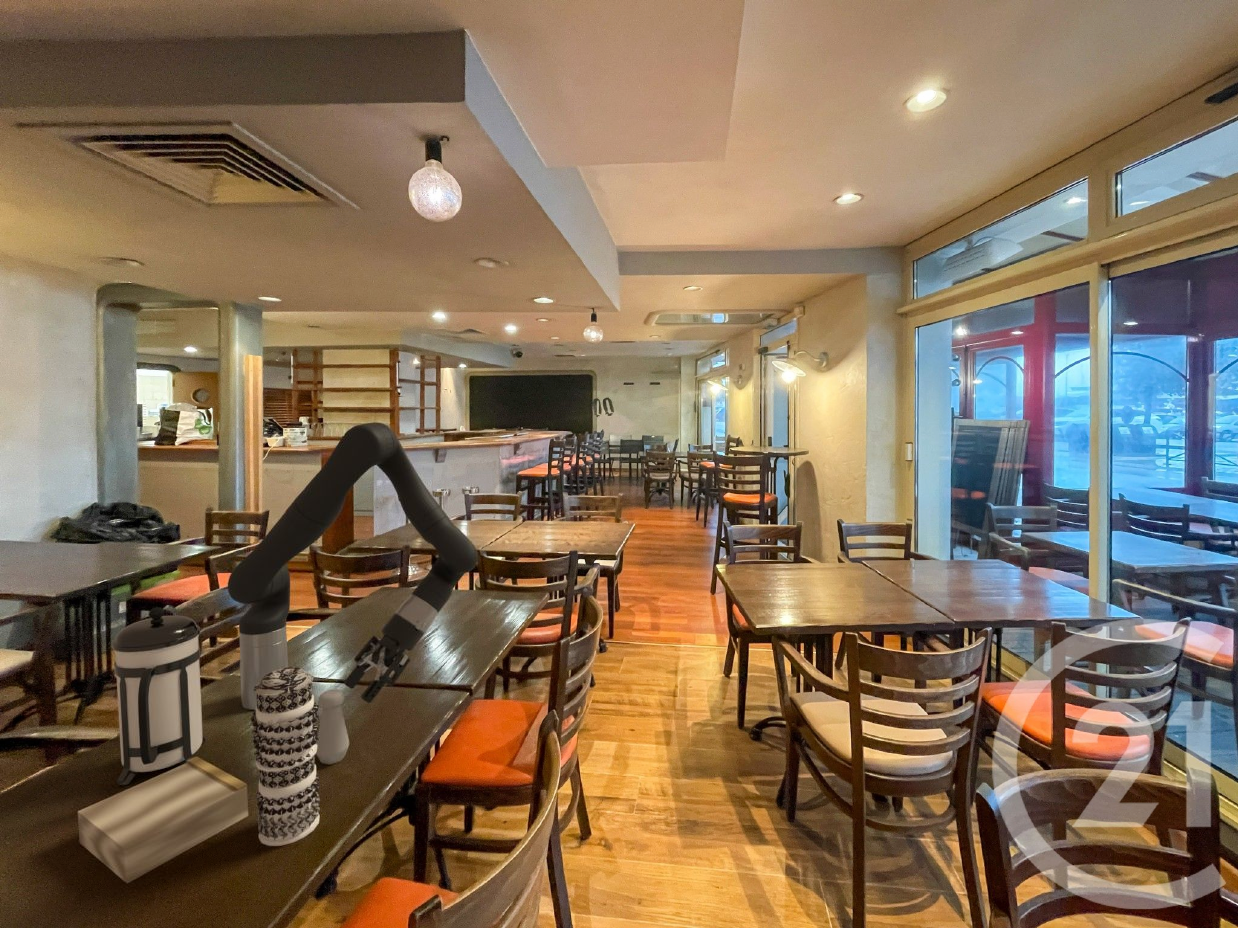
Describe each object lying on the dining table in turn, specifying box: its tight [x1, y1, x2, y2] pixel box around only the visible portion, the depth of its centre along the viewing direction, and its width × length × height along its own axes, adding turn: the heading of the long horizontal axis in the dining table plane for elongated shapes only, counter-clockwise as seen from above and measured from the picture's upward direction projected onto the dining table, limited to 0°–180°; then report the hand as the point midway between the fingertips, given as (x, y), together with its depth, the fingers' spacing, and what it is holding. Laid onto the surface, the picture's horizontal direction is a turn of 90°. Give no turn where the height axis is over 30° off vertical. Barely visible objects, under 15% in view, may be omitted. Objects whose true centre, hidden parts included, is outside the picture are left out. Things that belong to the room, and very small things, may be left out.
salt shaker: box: [315, 689, 350, 765], centre depth 109 cm, size 6×6×13 cm
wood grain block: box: [77, 756, 249, 884], centre depth 90 cm, size 16×16×5 cm
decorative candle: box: [250, 666, 321, 847], centre depth 90 cm, size 9×9×25 cm
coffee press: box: [111, 606, 206, 787], centre depth 106 cm, size 17×16×30 cm
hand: (356, 693), depth 112 cm, fingers open, 8 cm apart
